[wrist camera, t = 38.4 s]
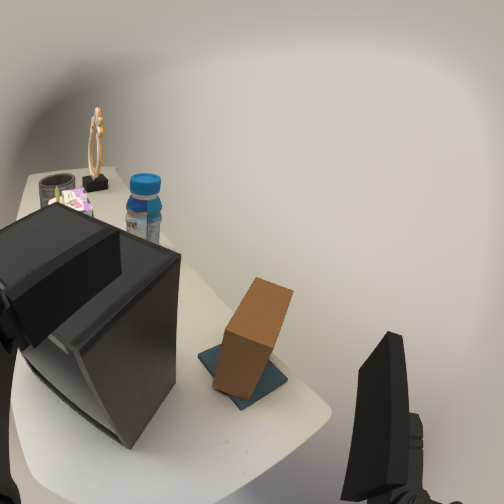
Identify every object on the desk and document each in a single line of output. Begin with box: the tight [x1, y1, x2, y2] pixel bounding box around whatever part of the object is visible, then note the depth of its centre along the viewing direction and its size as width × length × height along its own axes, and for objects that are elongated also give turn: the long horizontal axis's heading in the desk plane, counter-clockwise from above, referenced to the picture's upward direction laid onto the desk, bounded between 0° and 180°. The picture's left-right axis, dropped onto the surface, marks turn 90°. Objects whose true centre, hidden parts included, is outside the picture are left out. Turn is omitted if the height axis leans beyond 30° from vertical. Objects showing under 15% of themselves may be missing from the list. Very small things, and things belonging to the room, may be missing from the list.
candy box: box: [62, 188, 93, 217], centre depth 51 cm, size 14×6×16 cm, turn 40°
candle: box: [48, 186, 63, 205], centre depth 58 cm, size 6×6×15 cm
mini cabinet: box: [0, 201, 181, 450], centre depth 28 cm, size 21×14×24 cm, turn 72°
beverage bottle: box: [126, 173, 162, 245], centre depth 59 cm, size 8×8×20 cm
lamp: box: [82, 108, 108, 193], centre depth 84 cm, size 17×9×32 cm, turn 45°
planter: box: [39, 173, 75, 208], centre depth 65 cm, size 12×12×13 cm
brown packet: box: [212, 277, 294, 402], centre depth 39 cm, size 6×12×14 cm, turn 162°
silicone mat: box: [198, 344, 288, 410], centre depth 43 cm, size 12×10×1 cm
